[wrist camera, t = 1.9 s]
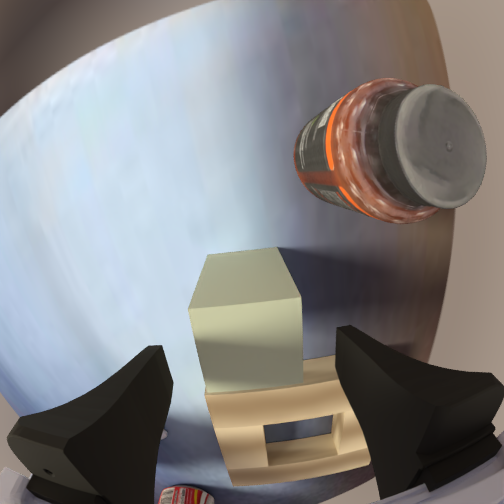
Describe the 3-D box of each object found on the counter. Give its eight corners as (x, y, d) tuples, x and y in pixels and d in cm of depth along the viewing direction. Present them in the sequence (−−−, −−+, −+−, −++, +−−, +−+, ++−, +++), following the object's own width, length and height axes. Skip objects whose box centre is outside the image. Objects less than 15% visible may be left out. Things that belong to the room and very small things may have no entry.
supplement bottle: (377, 203, 19) (499, 242, 8) (292, 203, 19) (364, 249, 8) (375, 117, 17) (496, 82, 6) (289, 111, 17) (355, 37, 6)
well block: (361, 445, 25) (369, 464, 23) (233, 464, 25) (233, 486, 22) (380, 345, 22) (395, 365, 19) (207, 370, 22) (204, 395, 19)
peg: (281, 309, 20) (303, 382, 13) (217, 316, 20) (207, 392, 13) (276, 247, 19) (301, 297, 12) (207, 254, 19) (187, 309, 11)
